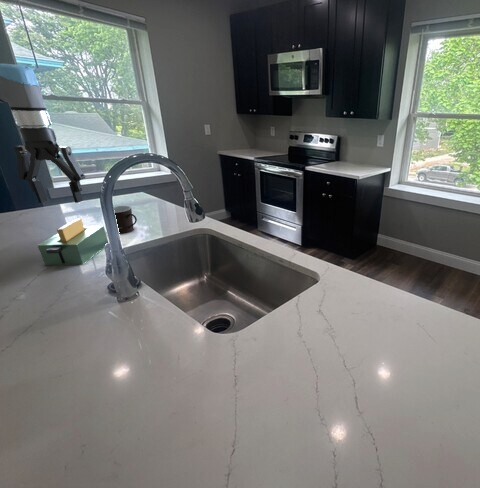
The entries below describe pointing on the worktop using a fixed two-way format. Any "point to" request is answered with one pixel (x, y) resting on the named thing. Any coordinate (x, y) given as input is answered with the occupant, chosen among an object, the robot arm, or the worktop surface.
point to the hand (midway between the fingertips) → (61, 201)
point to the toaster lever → (54, 250)
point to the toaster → (75, 247)
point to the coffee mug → (124, 219)
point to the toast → (70, 230)
